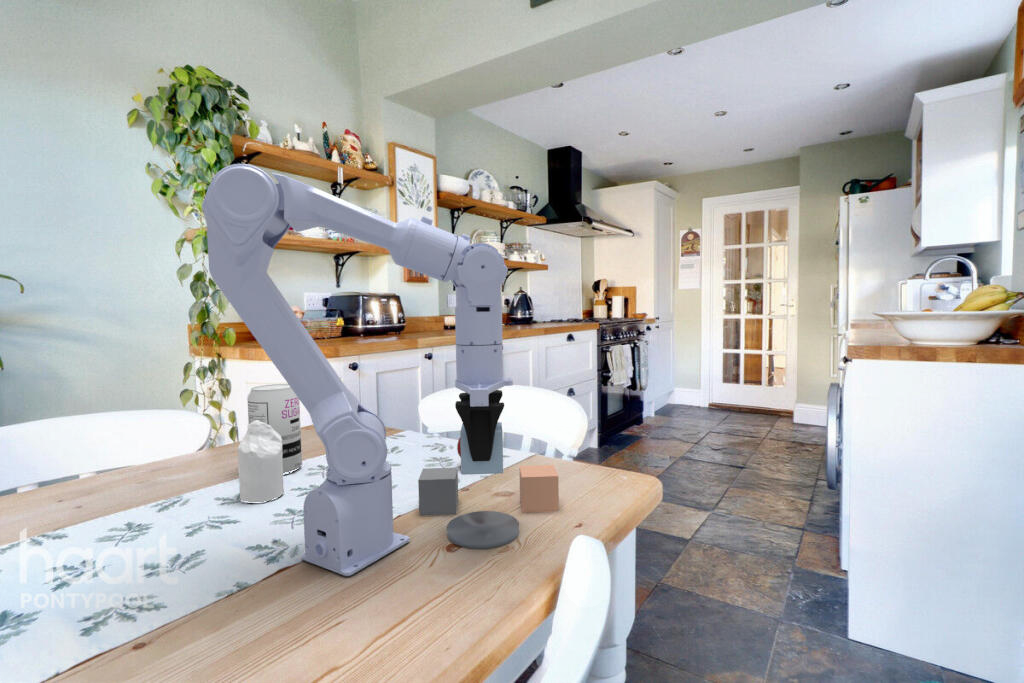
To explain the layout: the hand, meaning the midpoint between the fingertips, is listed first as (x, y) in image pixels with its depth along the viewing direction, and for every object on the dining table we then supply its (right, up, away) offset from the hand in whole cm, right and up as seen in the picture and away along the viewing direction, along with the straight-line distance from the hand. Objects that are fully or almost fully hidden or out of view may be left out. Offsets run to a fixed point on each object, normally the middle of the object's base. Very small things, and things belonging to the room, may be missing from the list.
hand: (481, 453), depth 61 cm
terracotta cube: (+8, -9, +9) cm, 15 cm away
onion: (-3, -9, +26) cm, 28 cm away
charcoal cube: (-6, -10, +9) cm, 14 cm away
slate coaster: (0, -10, +1) cm, 10 cm away
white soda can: (-38, -9, +27) cm, 47 cm away
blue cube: (0, -2, 0) cm, 2 cm away
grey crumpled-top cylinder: (-34, -10, +14) cm, 38 cm away
